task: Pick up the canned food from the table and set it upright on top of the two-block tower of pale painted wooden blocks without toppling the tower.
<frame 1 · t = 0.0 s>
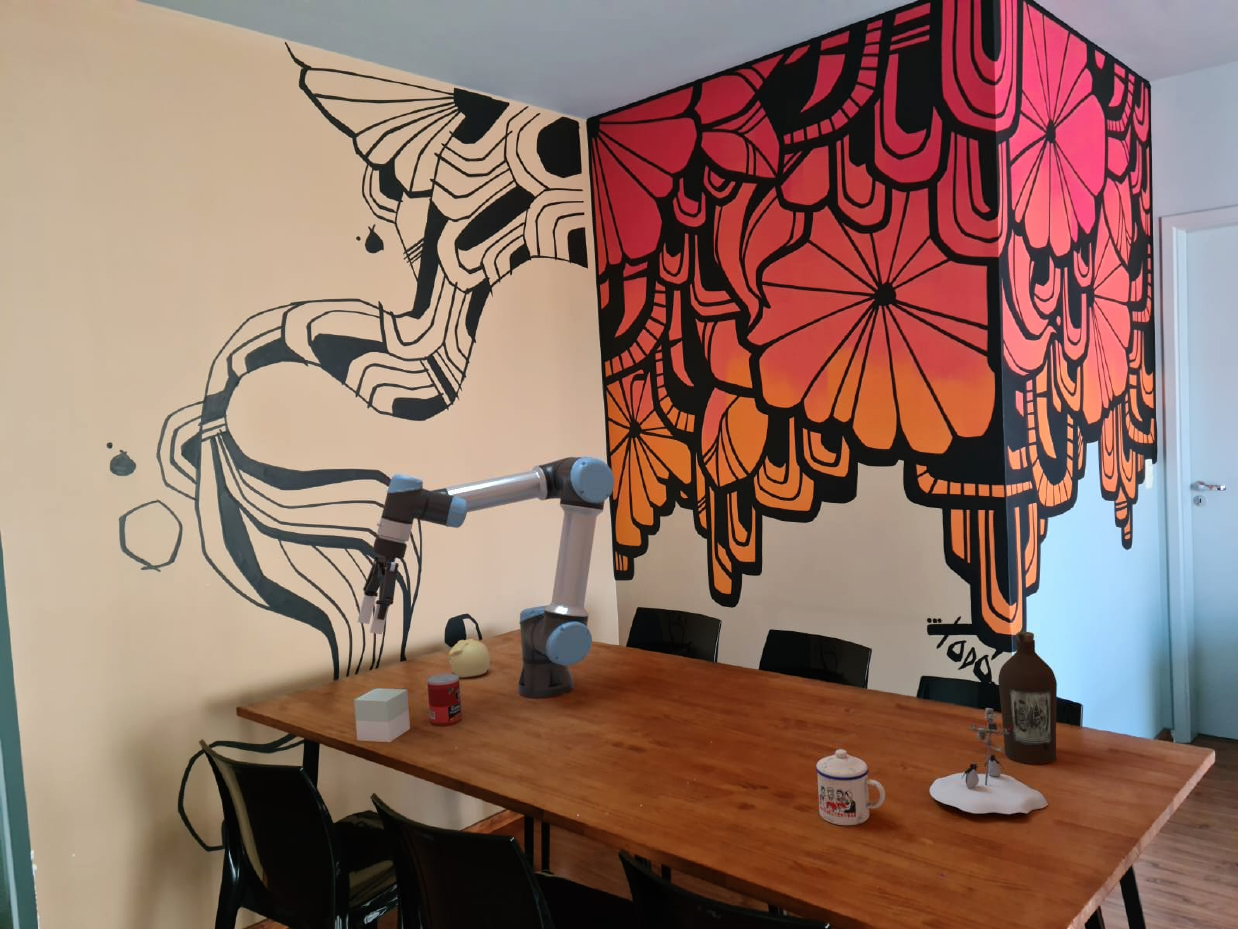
hand: (369, 628, 205), 28 cm above the table, tool tilted 20°, fingers open, 13 cm apart
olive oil: (1030, 757, 176), on the table
canned food: (446, 721, 220), on the table
tower top: (382, 715, 213), point 5 cm above the table, touching tower base
figurine: (986, 802, 158), on the table
sculpture: (470, 675, 260), on the table
tower base: (384, 735, 213), on the table, touching tower top
teacup with lid: (852, 818, 154), on the table
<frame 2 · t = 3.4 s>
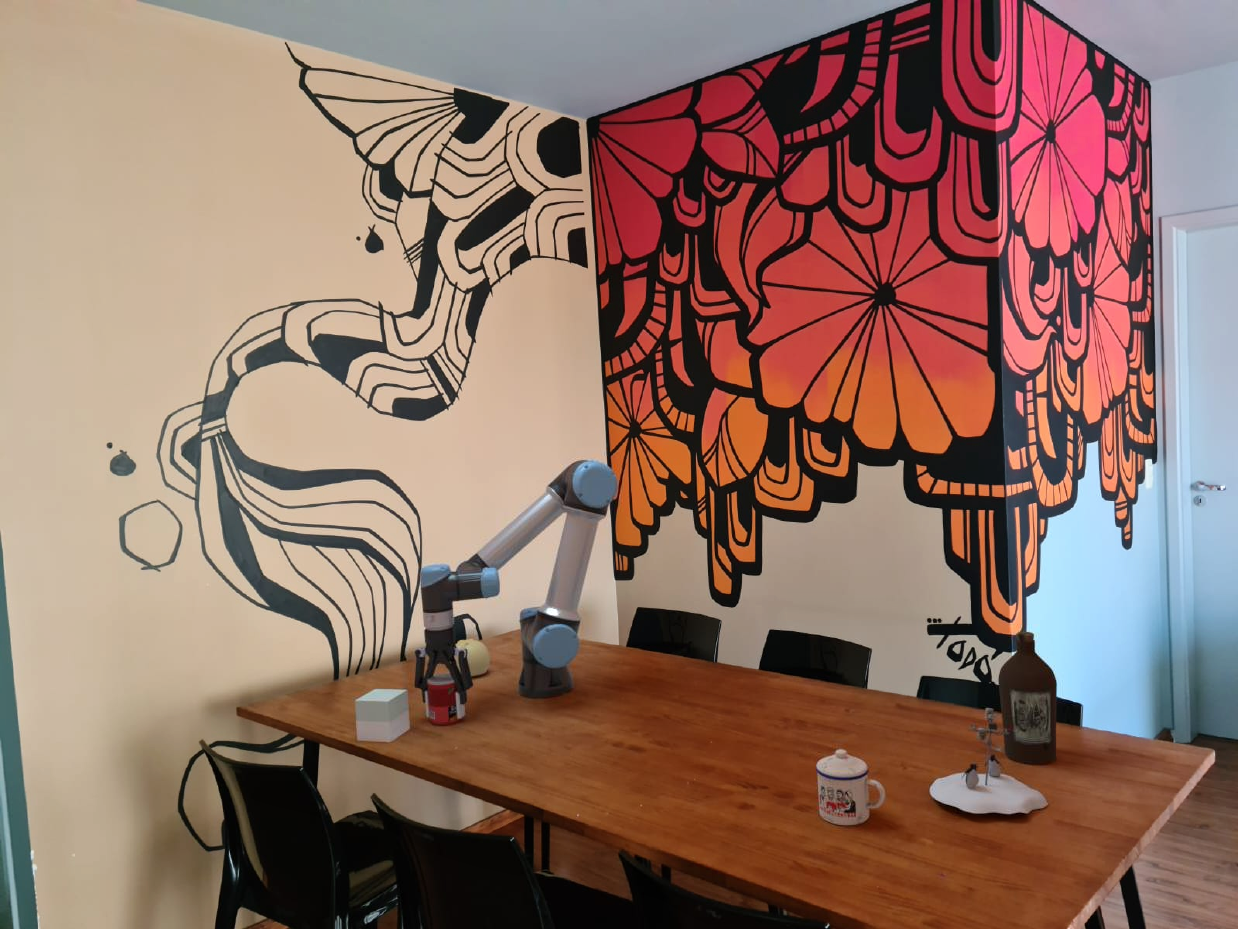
hand: (445, 715, 220), 1 cm above the table, tool pointing down, fingers closed on canned food, 8 cm apart
canned food: (446, 721, 220), on the table, touching gripper
everything else where it was.
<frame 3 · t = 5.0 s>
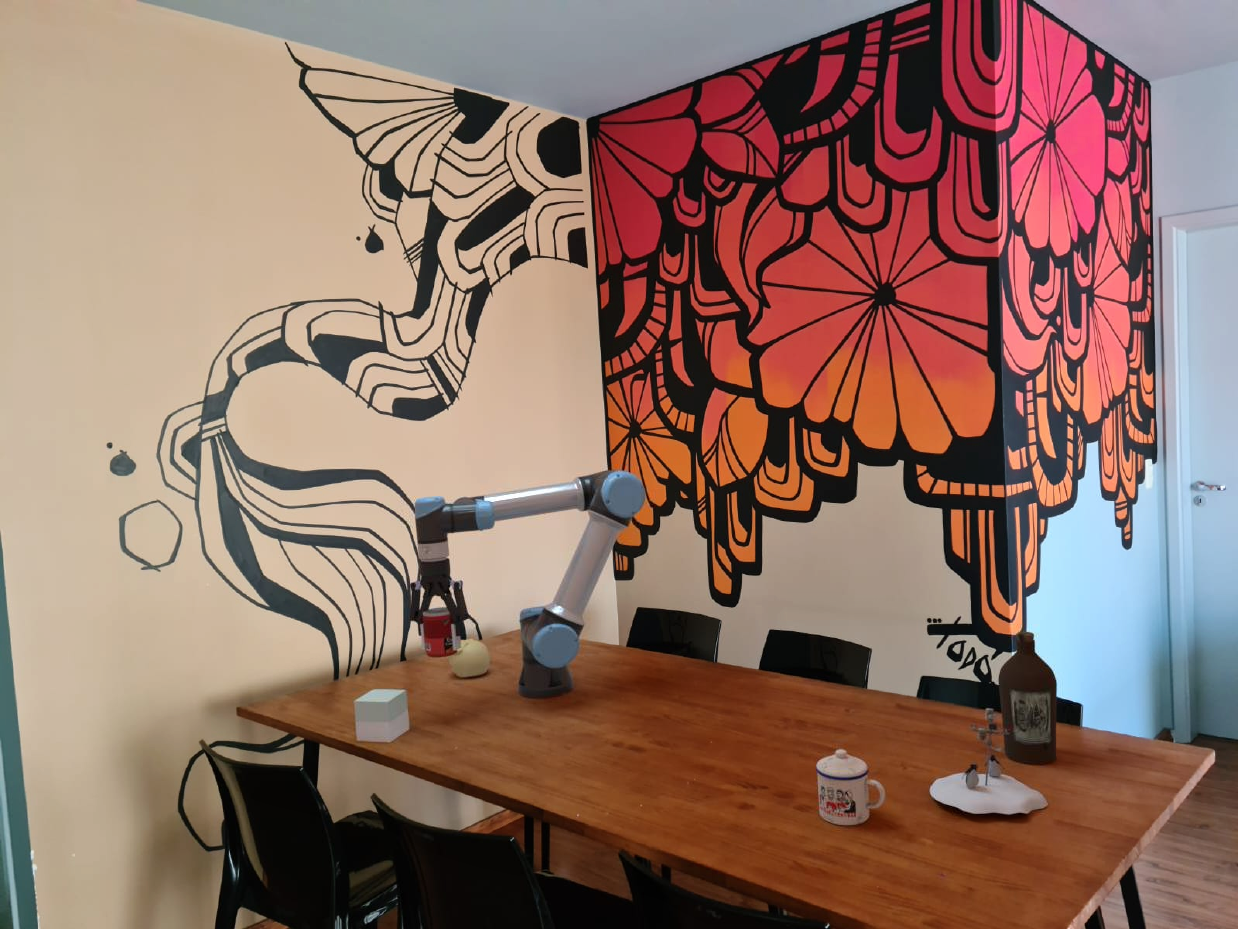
hand: (441, 648, 219), 18 cm above the table, tool pointing down, fingers closed on canned food, 8 cm apart
canned food: (442, 654, 219), point 17 cm above the table, touching gripper
everything else where it was.
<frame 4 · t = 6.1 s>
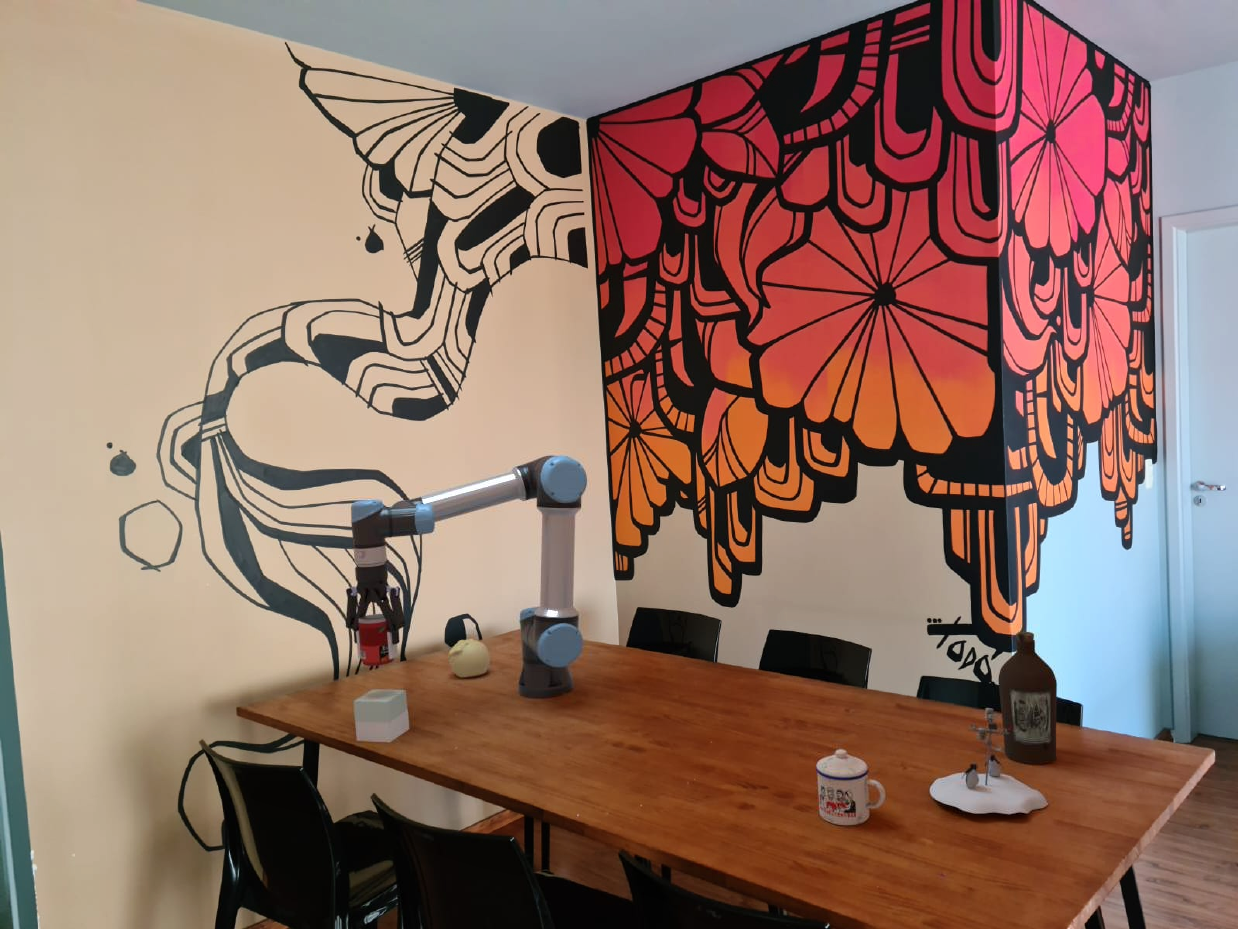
hand: (377, 656, 212), 19 cm above the table, tool pointing down, fingers closed on canned food, 8 cm apart
canned food: (378, 662, 212), point 18 cm above the table, touching gripper
tower top: (381, 715, 212), point 5 cm above the table
tower base: (383, 735, 213), on the table
everything else where it was.
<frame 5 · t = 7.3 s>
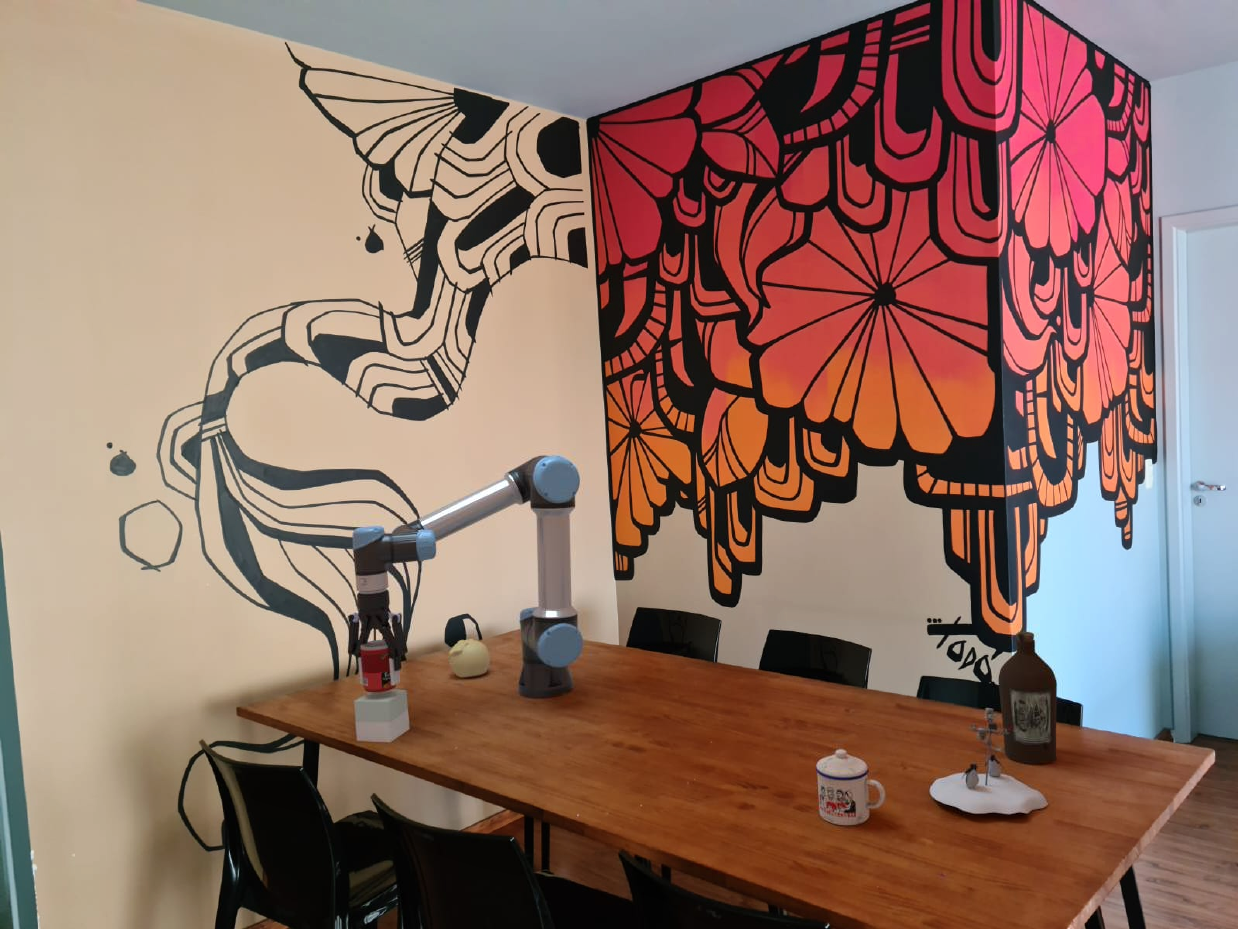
hand: (380, 683, 212), 13 cm above the table, tool pointing down, fingers closed on canned food, 8 cm apart
canned food: (380, 689, 212), point 11 cm above the table, touching gripper
tower top: (382, 715, 212), point 5 cm above the table, touching tower base
tower base: (383, 735, 213), on the table, touching tower top
everything else where it was.
when the fingers open (13 cm above the table, at t = 7.6 s): canned food moves 1 cm, resting on tower top.
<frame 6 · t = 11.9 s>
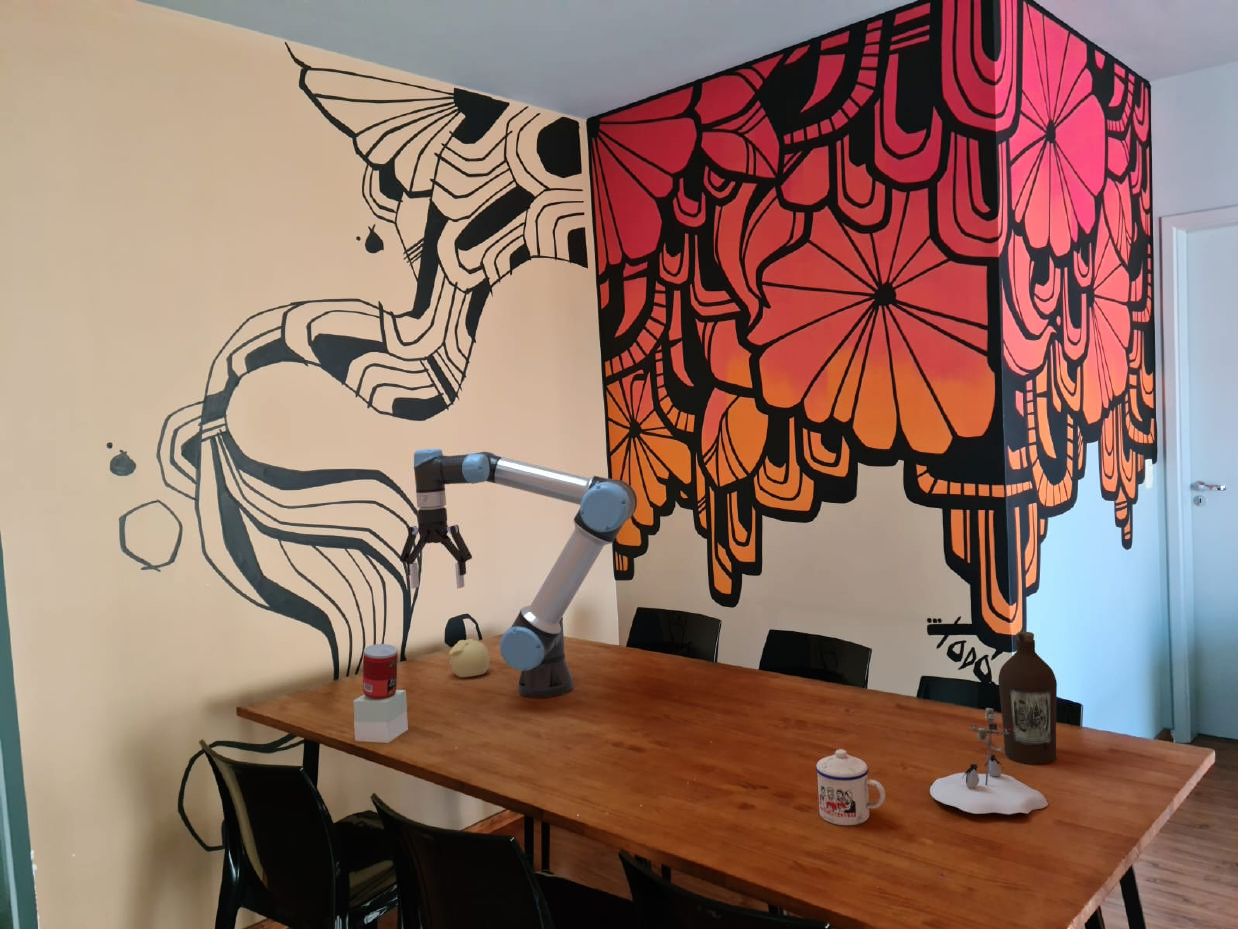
hand: (437, 587, 231), 32 cm above the table, tool pointing down, fingers open, 13 cm apart
canned food: (379, 693, 212), point 10 cm above the table, touching tower top
tower top: (381, 715, 212), point 5 cm above the table, touching canned food, tower base
everything else where it was.
at the end: canned food inside the target area on the tower top (0.1 cm from its centre), point 5.5 cm above the tower top's base; canned food tilted 11°; tower top moved 0.5 cm from its start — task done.
